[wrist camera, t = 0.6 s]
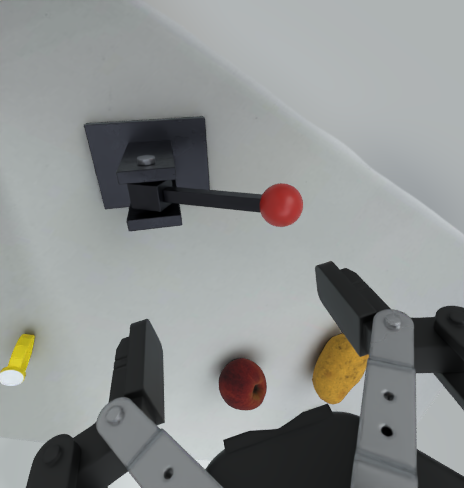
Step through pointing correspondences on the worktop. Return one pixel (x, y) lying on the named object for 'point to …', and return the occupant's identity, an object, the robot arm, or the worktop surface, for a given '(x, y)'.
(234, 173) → the worktop surface
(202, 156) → the lever base bracket
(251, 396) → the apple
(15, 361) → the watch
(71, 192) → the worktop surface
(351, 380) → the potato
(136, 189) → the clamp lever
